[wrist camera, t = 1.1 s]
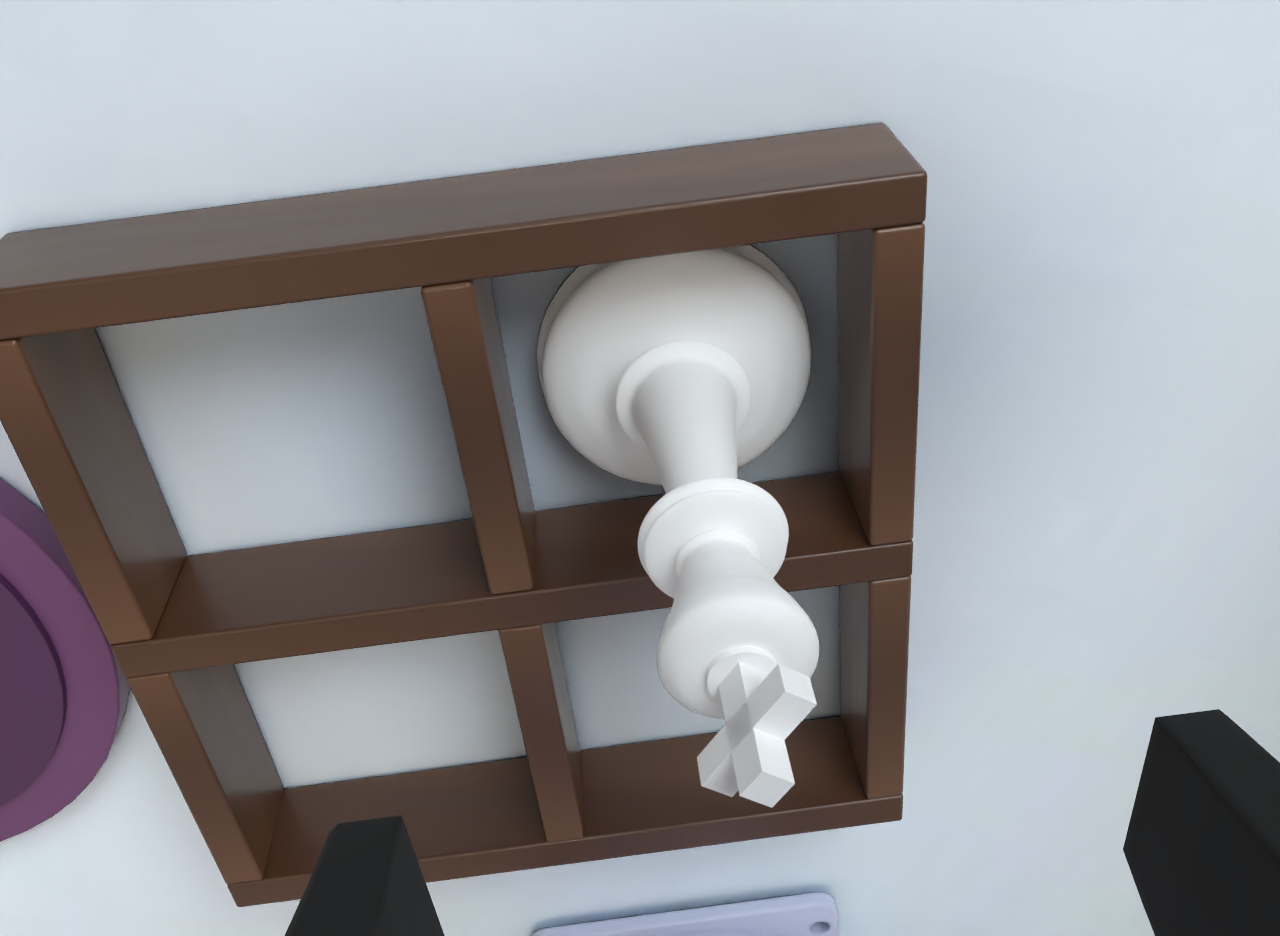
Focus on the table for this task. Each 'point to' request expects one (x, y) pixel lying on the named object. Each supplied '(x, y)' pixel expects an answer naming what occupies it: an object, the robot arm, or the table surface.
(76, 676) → the lid
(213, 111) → the table surface
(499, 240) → the rack
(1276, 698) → the table surface
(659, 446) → the chess piece
